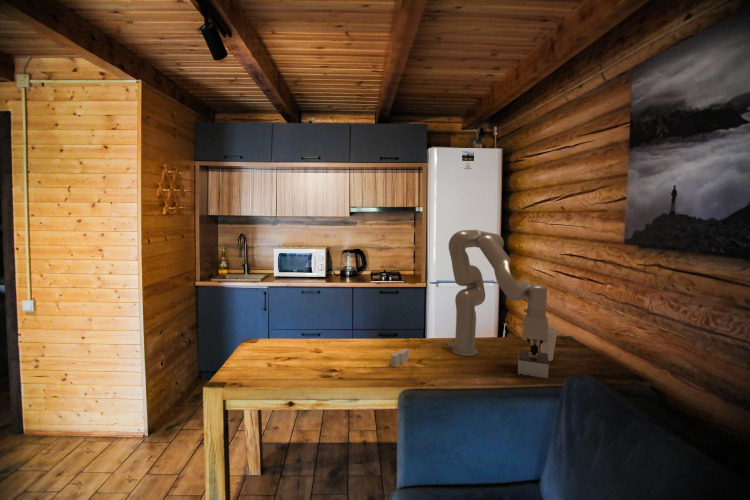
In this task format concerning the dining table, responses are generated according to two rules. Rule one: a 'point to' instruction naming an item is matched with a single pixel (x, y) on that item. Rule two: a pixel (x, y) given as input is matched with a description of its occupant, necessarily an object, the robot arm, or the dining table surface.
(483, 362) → the dining table surface
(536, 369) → the collar block
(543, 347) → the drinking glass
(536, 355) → the peg
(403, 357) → the grey grooved block
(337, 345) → the dining table surface
